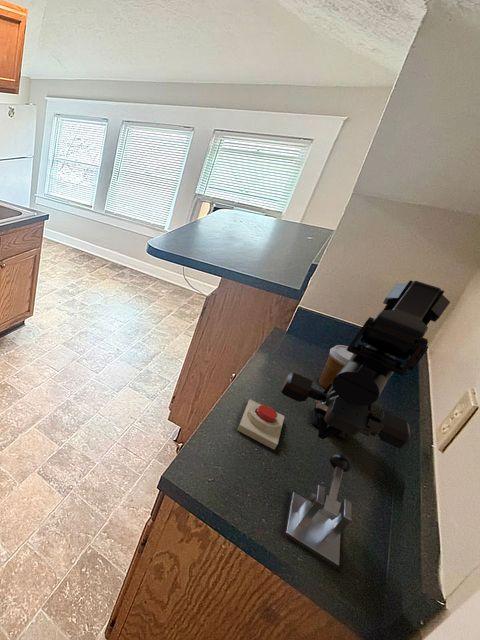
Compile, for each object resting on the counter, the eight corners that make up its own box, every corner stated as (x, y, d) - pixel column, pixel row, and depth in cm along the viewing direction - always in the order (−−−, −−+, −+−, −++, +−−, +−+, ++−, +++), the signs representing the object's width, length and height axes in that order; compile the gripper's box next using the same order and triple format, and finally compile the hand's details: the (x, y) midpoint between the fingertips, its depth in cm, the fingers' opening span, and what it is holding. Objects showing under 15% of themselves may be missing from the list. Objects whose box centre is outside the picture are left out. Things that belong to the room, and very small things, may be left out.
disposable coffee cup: (312, 371, 117) (332, 339, 112) (351, 386, 112) (373, 354, 107) (311, 386, 111) (331, 354, 105) (352, 404, 105) (376, 371, 100)
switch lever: (328, 454, 78) (335, 448, 75) (348, 464, 76) (356, 458, 74) (313, 510, 71) (320, 505, 69) (334, 523, 69) (342, 517, 67)
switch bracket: (290, 495, 79) (310, 468, 75) (338, 522, 75) (362, 495, 71) (283, 535, 72) (305, 508, 67) (336, 569, 67) (362, 541, 63)
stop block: (246, 405, 102) (252, 394, 100) (280, 422, 97) (287, 410, 95) (236, 431, 93) (242, 419, 91) (273, 451, 89) (281, 439, 87)
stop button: (257, 407, 96) (260, 402, 95) (275, 416, 94) (278, 411, 93) (254, 416, 93) (257, 411, 92) (273, 425, 91) (276, 420, 90)
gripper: (295, 373, 69) (260, 432, 77) (437, 435, 59) (381, 496, 66) (302, 348, 77) (270, 403, 84) (429, 398, 66) (379, 456, 74)
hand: (320, 437), depth 77 cm, fingers closed
